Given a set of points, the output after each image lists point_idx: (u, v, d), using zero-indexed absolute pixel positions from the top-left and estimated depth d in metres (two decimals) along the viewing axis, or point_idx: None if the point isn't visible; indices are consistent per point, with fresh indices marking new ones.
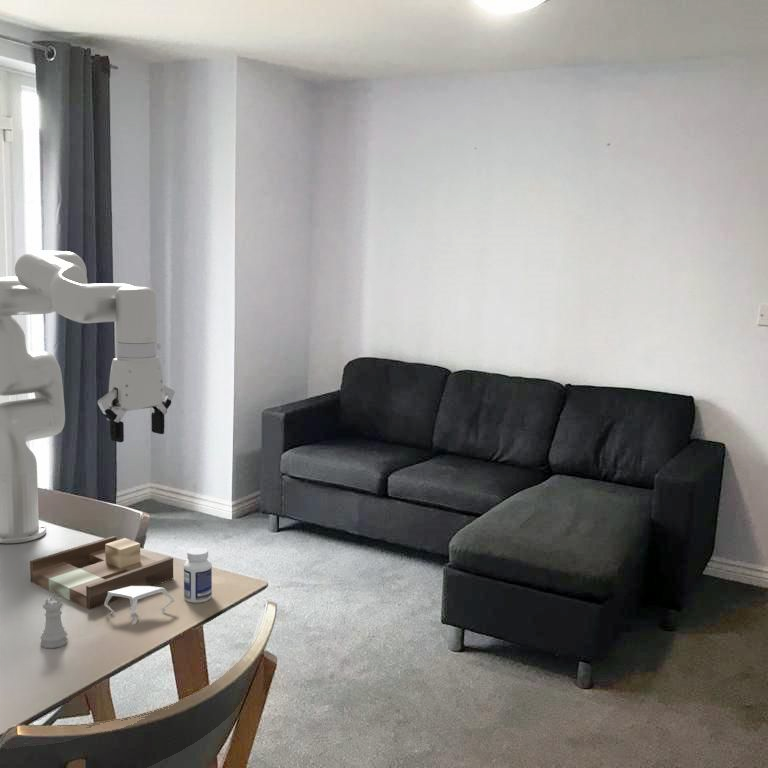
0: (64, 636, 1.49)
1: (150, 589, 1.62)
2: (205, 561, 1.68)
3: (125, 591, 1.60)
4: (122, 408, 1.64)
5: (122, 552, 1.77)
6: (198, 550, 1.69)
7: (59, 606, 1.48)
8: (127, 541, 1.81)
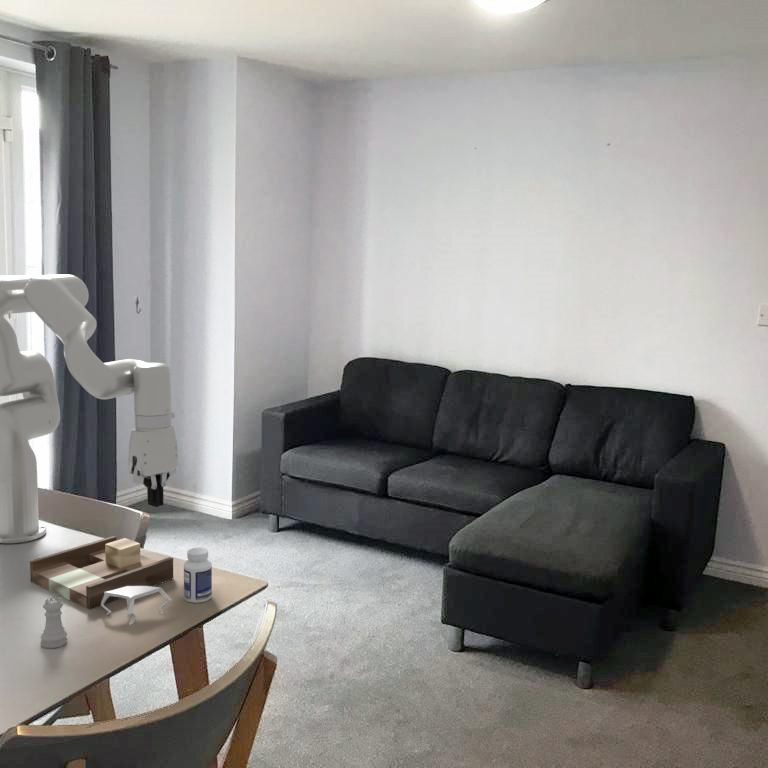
0: (64, 636, 1.49)
1: (147, 589, 1.62)
2: (205, 561, 1.68)
3: (122, 591, 1.60)
4: (141, 475, 1.79)
5: (122, 552, 1.77)
6: (198, 550, 1.69)
7: (59, 606, 1.48)
8: (127, 541, 1.81)
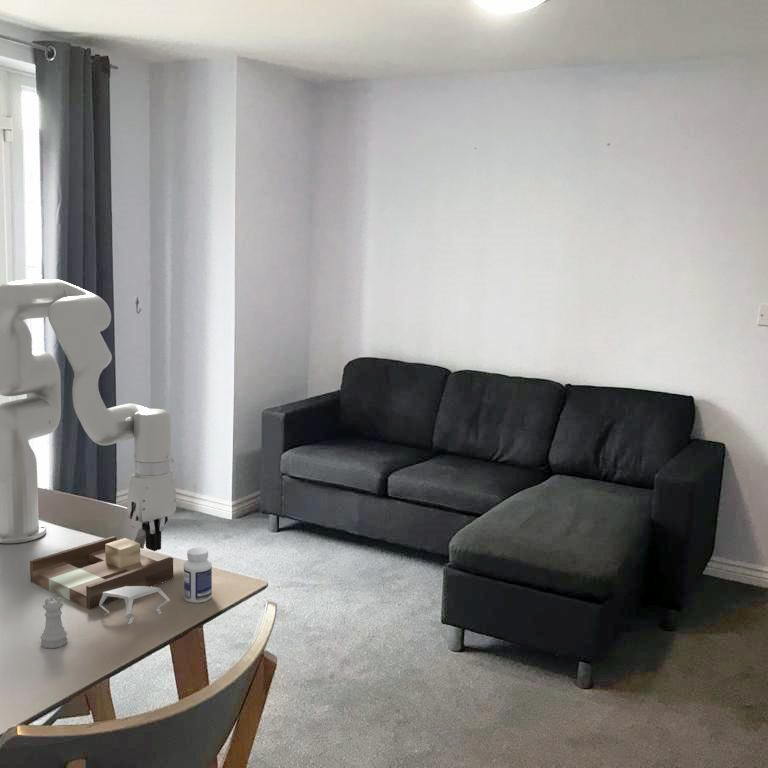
0: (64, 636, 1.49)
1: (146, 589, 1.62)
2: (205, 561, 1.68)
3: (120, 592, 1.60)
4: (139, 521, 1.81)
5: (122, 552, 1.77)
6: (198, 550, 1.69)
7: (59, 606, 1.48)
8: (127, 541, 1.81)
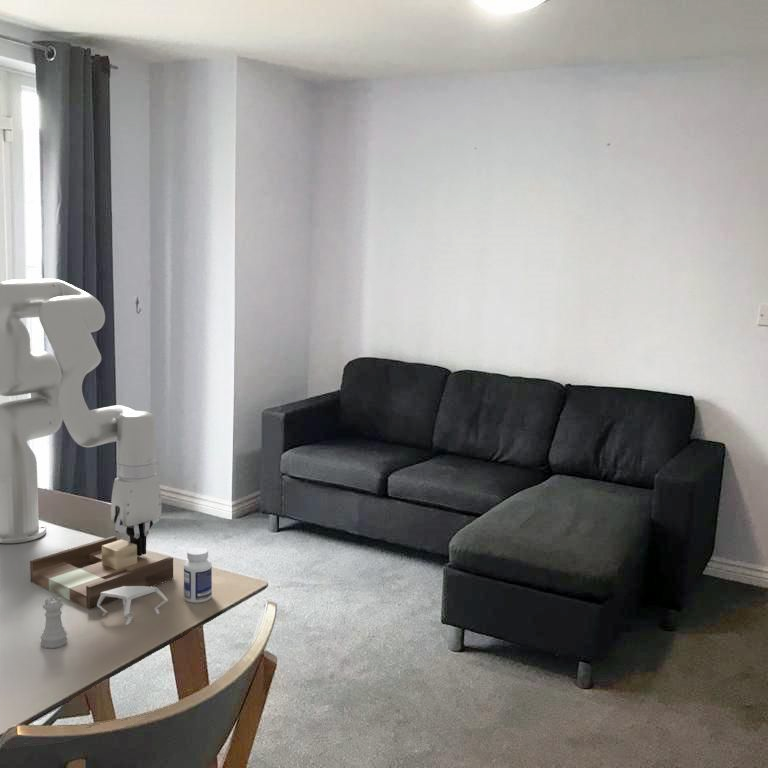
0: (64, 636, 1.49)
1: (144, 589, 1.62)
2: (205, 561, 1.68)
3: (118, 592, 1.60)
4: (124, 525, 1.77)
5: (119, 554, 1.76)
6: (198, 550, 1.69)
7: (59, 606, 1.48)
8: (123, 543, 1.80)
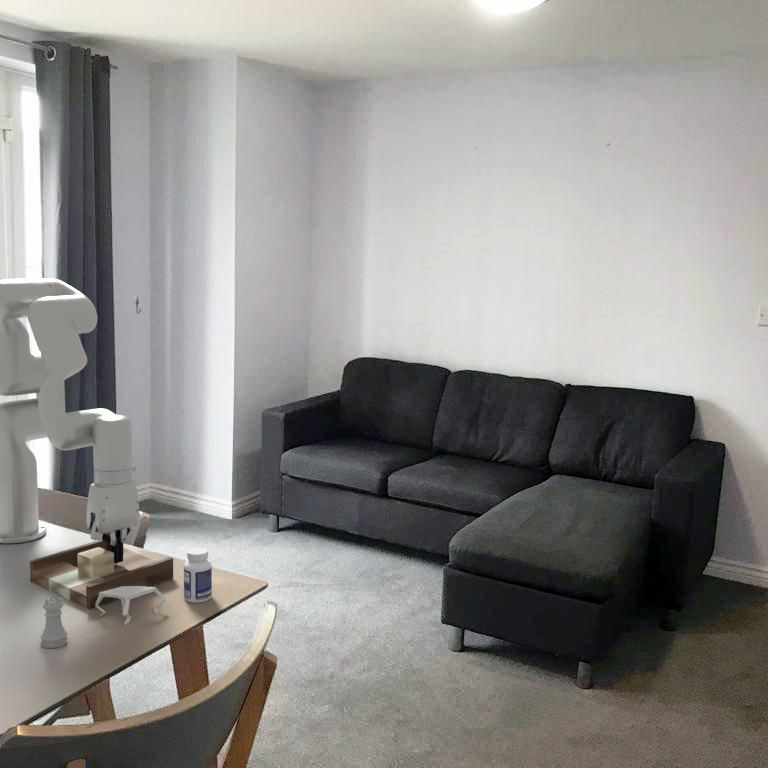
0: (64, 636, 1.49)
1: (142, 589, 1.62)
2: (205, 561, 1.68)
3: (117, 592, 1.60)
4: (99, 532, 1.73)
5: (95, 562, 1.71)
6: (198, 550, 1.69)
7: (59, 606, 1.48)
8: (100, 550, 1.75)
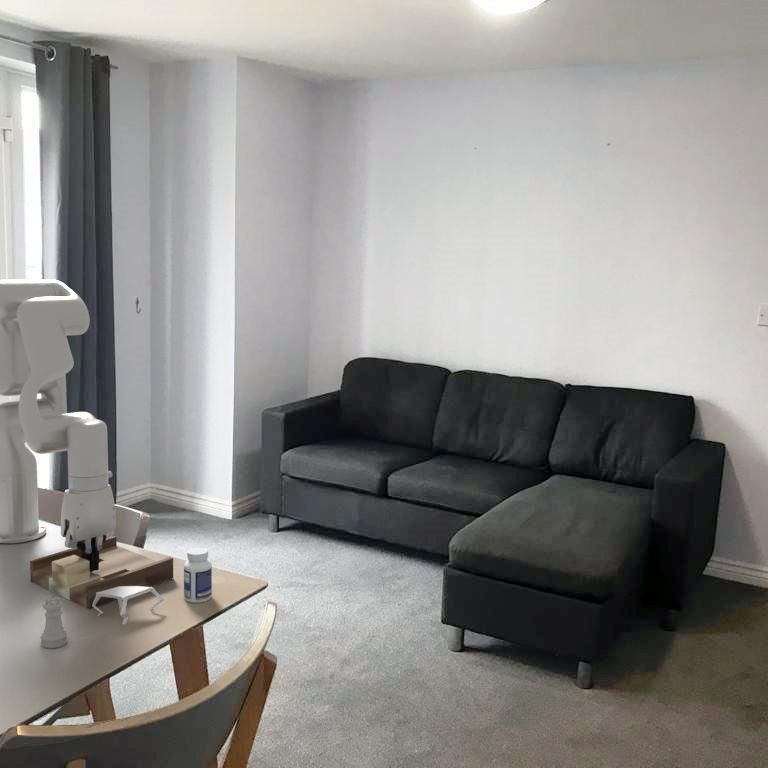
0: (64, 636, 1.49)
1: (139, 589, 1.62)
2: (205, 561, 1.68)
3: (114, 592, 1.60)
4: (73, 540, 1.68)
5: (69, 571, 1.67)
6: (198, 550, 1.69)
7: (59, 606, 1.48)
8: (75, 558, 1.71)
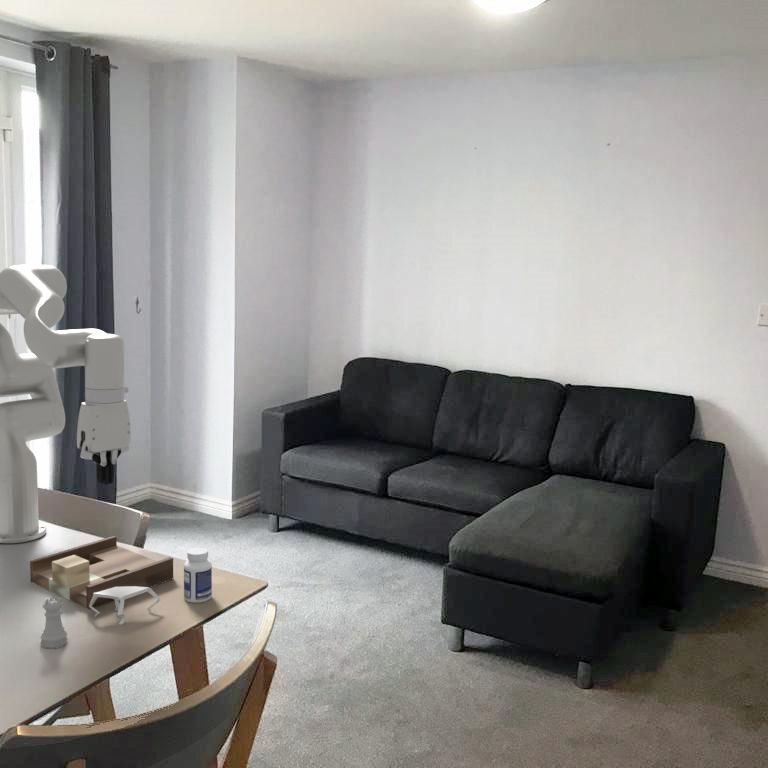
0: (64, 636, 1.49)
1: (136, 589, 1.61)
2: (205, 561, 1.68)
3: (111, 592, 1.60)
4: (89, 451, 1.71)
5: (69, 571, 1.67)
6: (198, 550, 1.69)
7: (59, 606, 1.48)
8: (75, 558, 1.71)
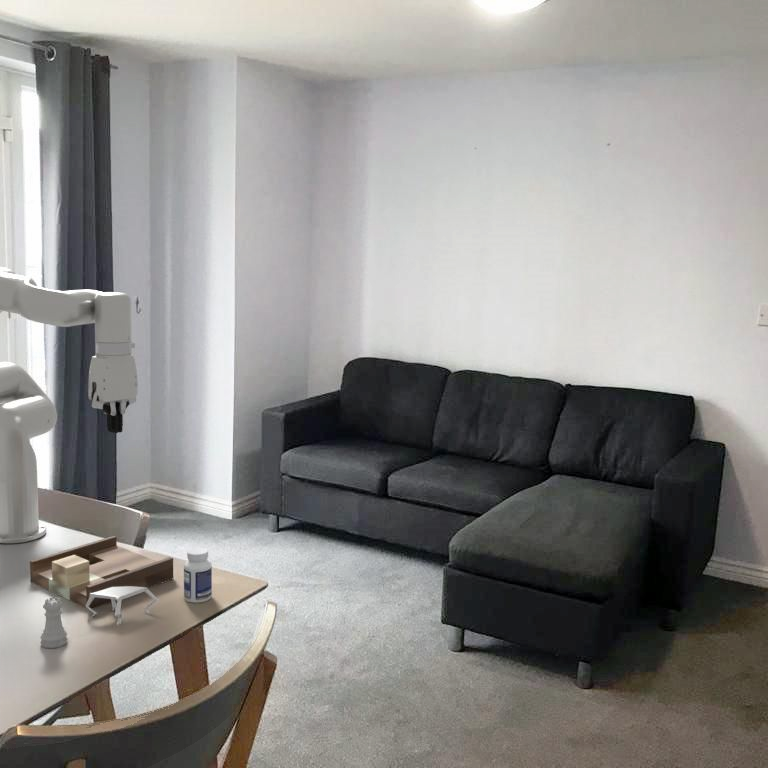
0: (64, 636, 1.49)
1: (133, 589, 1.61)
2: (205, 561, 1.68)
3: (108, 592, 1.60)
4: (100, 400, 1.84)
5: (69, 571, 1.67)
6: (198, 550, 1.69)
7: (59, 606, 1.48)
8: (75, 558, 1.71)
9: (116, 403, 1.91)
